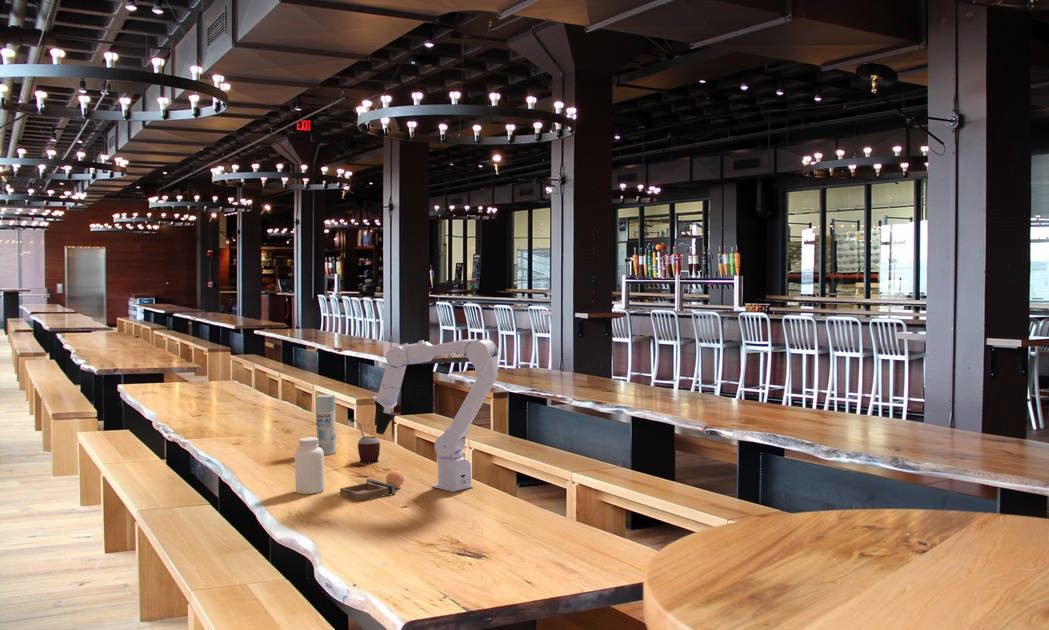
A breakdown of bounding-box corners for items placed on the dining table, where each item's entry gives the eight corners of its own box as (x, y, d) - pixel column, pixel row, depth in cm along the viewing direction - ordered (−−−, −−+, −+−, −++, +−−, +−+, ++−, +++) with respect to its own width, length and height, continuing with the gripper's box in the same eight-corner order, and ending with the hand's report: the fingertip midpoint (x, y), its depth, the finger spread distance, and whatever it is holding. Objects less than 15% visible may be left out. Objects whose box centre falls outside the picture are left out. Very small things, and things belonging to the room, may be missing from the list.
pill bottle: (289, 493, 244) (288, 440, 243) (306, 487, 251) (305, 435, 250) (314, 495, 241) (312, 442, 240) (330, 489, 248) (329, 436, 248)
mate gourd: (382, 459, 288) (381, 414, 287) (376, 465, 280) (375, 418, 279) (360, 459, 289) (359, 414, 288) (353, 464, 281) (352, 418, 280)
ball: (407, 487, 249) (407, 470, 248) (393, 491, 245) (393, 473, 245) (396, 485, 252) (396, 467, 252) (382, 488, 249) (382, 470, 248)
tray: (389, 494, 241) (389, 487, 241) (360, 501, 234) (360, 494, 234) (368, 489, 247) (368, 482, 247) (340, 495, 241) (340, 488, 240)
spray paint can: (339, 451, 302) (338, 394, 301) (331, 455, 296) (330, 397, 295) (321, 451, 303) (320, 394, 303) (313, 455, 297) (312, 396, 296)
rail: (395, 494, 241) (395, 485, 241) (391, 495, 240) (391, 486, 240) (370, 487, 250) (369, 478, 250) (366, 488, 249) (366, 479, 249)
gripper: (376, 376, 258) (364, 419, 260) (378, 389, 245) (366, 434, 246) (399, 381, 260) (387, 424, 262) (403, 394, 246) (390, 439, 248)
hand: (378, 429), depth 254 cm, fingers open, 7 cm apart
